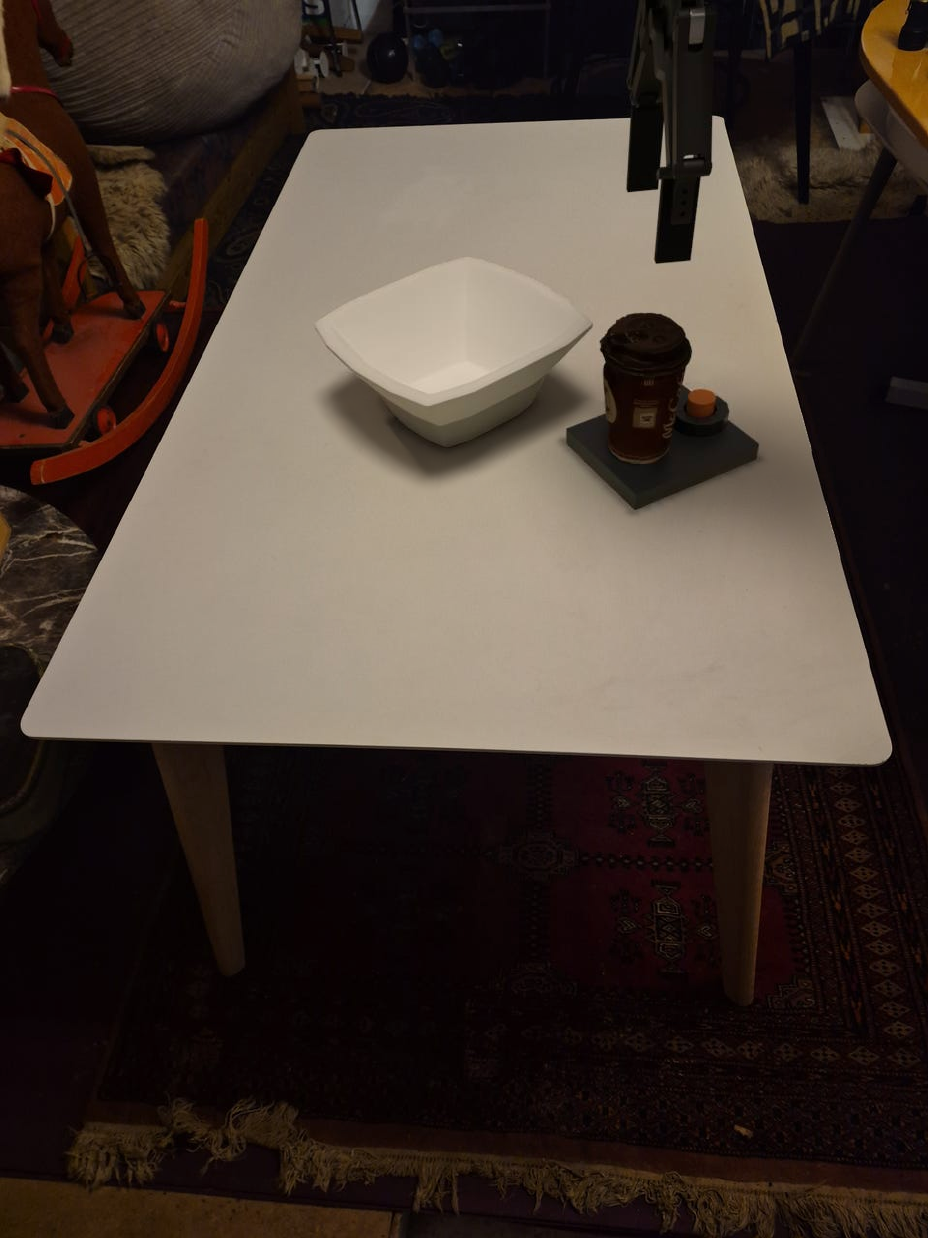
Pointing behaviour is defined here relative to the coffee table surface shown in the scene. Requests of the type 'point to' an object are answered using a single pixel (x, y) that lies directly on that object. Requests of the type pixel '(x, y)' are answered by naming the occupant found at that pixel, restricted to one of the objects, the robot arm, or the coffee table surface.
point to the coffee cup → (643, 384)
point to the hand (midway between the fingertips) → (656, 222)
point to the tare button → (701, 403)
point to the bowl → (455, 345)
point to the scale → (688, 461)
